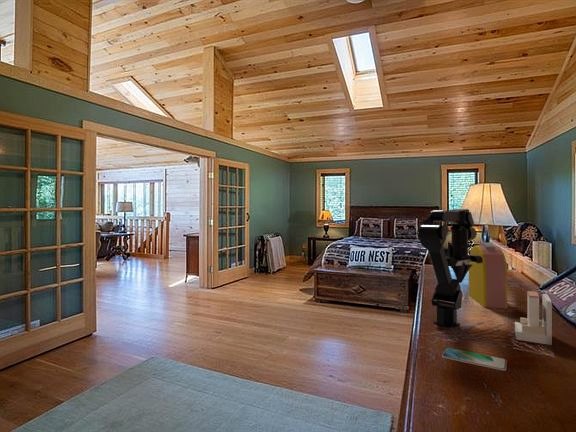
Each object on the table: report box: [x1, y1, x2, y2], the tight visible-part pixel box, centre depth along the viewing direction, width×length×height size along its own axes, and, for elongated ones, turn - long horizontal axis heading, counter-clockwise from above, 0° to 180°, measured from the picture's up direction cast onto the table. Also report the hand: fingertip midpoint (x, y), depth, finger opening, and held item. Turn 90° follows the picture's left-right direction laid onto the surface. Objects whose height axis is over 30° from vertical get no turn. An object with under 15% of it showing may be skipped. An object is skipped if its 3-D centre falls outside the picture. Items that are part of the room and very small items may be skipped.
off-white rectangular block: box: [526, 290, 540, 327], centre depth 109 cm, size 2×7×11 cm, turn 149°
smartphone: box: [441, 347, 508, 371], centre depth 93 cm, size 7×1×15 cm
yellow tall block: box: [468, 242, 508, 309], centre depth 153 cm, size 21×9×26 cm, turn 168°
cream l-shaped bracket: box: [514, 293, 553, 346], centre depth 110 cm, size 9×11×13 cm
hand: (459, 282), depth 131 cm, fingers closed
